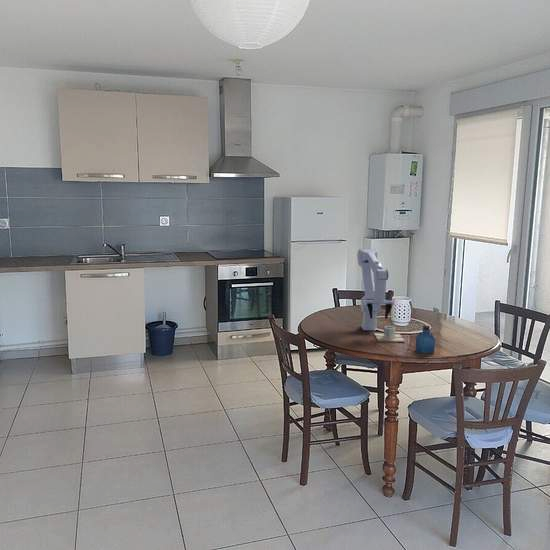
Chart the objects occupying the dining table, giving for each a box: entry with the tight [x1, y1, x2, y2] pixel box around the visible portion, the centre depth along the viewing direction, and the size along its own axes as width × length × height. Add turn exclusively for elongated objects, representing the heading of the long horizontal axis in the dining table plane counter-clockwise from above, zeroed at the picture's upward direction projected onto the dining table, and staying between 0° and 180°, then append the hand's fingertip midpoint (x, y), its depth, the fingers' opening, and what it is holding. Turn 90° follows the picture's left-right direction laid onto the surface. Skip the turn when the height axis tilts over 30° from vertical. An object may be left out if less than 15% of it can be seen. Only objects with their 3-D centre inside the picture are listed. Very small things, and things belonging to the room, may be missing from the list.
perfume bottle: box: [415, 325, 436, 354], centre depth 250 cm, size 6×6×12 cm
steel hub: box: [383, 325, 396, 338], centre depth 270 cm, size 6×6×5 cm
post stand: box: [373, 327, 406, 343], centre depth 270 cm, size 13×13×6 cm
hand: (378, 318), depth 274 cm, fingers open, 7 cm apart
